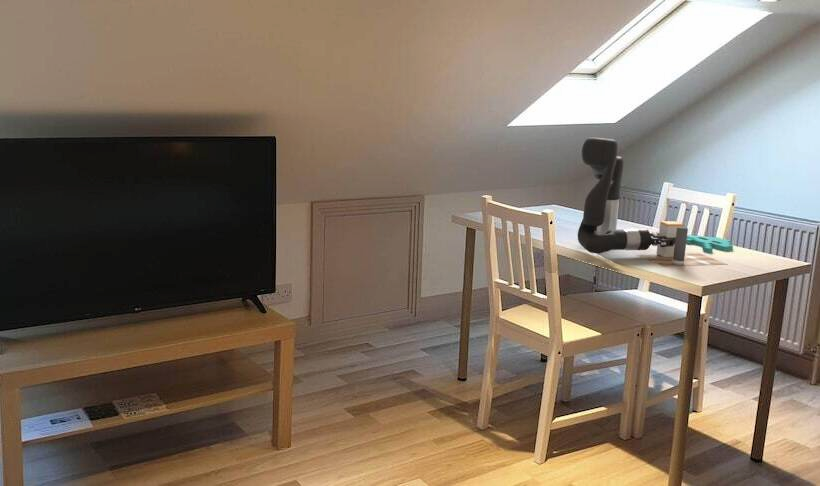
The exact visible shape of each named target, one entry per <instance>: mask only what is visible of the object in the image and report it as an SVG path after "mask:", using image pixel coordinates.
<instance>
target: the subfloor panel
mask: <svg viewBox="0 0 820 486" xmlns="http://www.w3.org/2000/svg"><path fill="white" fill-rule="evenodd" d="M636 255H637V256H640V257H642V258H644V259H646V260H648V261H651V262H653V263H655V264H656V265H659V266H662V267H664V268H665V267H666V268H667V267H670V268H671V267H690V266H691V267H694V266H695V267H699V266H700V267H701V266H725V265H726V266H728V265H729V264H728V263H725V262H723V261H720V260H718V259H715V258H713V257H710V256H709V255H705V254H703V253H700V252H685V258H684V265H682V266H680V265H674V264H672V262H673V257H663V256H660V255H658V254H656V253H644V254H643V253H640V254H639V253H638V254H636Z"/></svg>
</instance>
